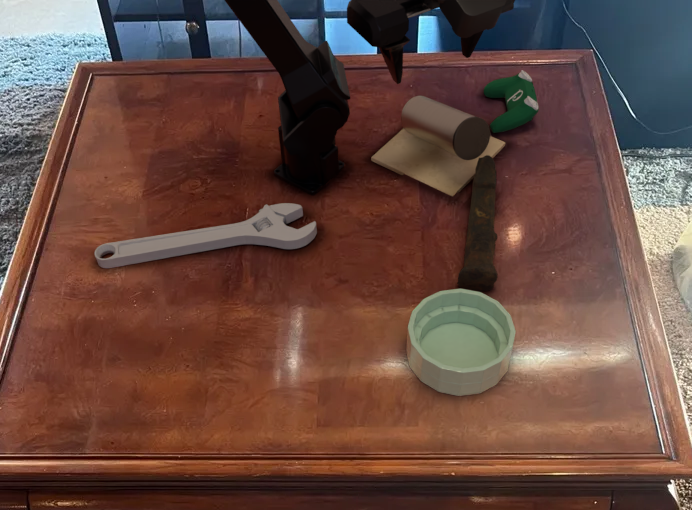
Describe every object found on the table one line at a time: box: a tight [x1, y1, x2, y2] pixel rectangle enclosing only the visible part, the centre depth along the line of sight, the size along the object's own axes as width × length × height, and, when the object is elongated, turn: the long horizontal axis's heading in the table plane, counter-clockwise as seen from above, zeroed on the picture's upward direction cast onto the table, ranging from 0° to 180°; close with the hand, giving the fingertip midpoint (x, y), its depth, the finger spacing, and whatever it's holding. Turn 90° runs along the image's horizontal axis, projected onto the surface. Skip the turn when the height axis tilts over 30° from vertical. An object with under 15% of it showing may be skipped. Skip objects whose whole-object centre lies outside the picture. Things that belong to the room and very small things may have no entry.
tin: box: [400, 95, 491, 160], centre depth 96 cm, size 5×5×12 cm
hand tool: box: [456, 155, 499, 292], centre depth 90 cm, size 19×4×5 cm, turn 168°
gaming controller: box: [483, 69, 540, 134], centre depth 104 cm, size 9×4×6 cm
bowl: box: [405, 288, 517, 397], centre depth 80 cm, size 10×10×4 cm
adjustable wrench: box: [94, 202, 318, 269], centre depth 93 cm, size 25×6×2 cm, turn 96°
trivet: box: [370, 127, 506, 198], centre depth 101 cm, size 12×12×1 cm
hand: (431, 68), depth 90 cm, fingers open, 9 cm apart
